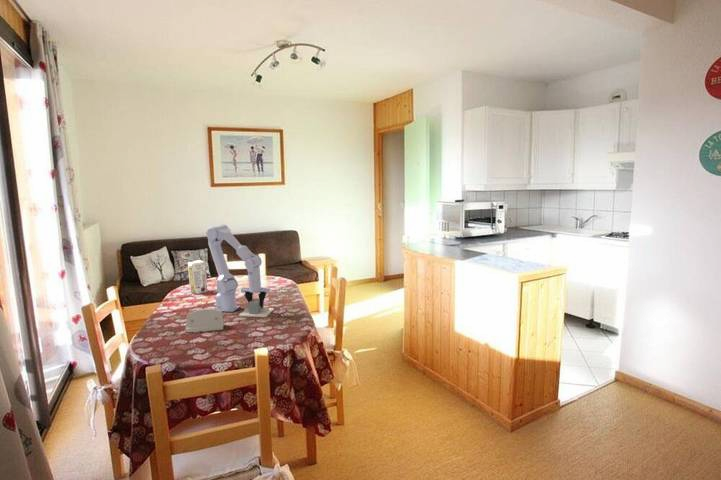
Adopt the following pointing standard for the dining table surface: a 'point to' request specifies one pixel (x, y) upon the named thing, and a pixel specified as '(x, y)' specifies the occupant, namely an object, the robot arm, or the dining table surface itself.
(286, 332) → the dining table surface
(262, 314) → the rail board
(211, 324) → the light grey flat block
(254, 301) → the module
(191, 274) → the juice carton
